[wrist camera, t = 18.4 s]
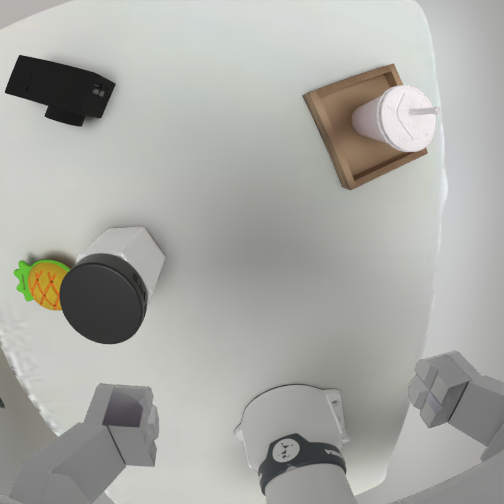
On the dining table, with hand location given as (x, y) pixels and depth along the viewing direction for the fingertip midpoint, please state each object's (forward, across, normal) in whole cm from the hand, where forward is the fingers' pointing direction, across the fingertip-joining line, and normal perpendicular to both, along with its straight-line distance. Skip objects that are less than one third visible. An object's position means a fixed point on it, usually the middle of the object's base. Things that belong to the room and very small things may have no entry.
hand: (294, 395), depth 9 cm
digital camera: (+29, +19, -14) cm, 38 cm away
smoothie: (+29, -15, -10) cm, 34 cm away
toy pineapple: (+29, +24, +8) cm, 39 cm away
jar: (+29, +13, +6) cm, 32 cm away
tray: (+29, -15, -10) cm, 34 cm away
